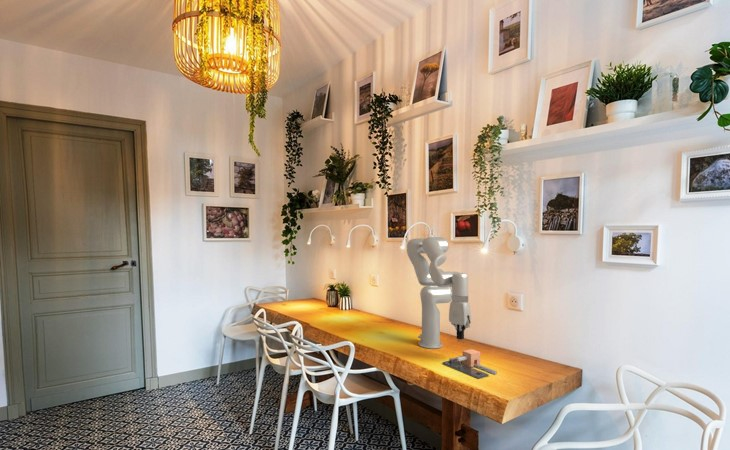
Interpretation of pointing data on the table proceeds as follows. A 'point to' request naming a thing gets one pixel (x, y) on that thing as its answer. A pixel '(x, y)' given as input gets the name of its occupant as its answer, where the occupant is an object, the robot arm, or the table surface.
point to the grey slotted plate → (476, 366)
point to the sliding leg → (469, 358)
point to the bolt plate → (466, 369)
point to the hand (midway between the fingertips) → (460, 338)
